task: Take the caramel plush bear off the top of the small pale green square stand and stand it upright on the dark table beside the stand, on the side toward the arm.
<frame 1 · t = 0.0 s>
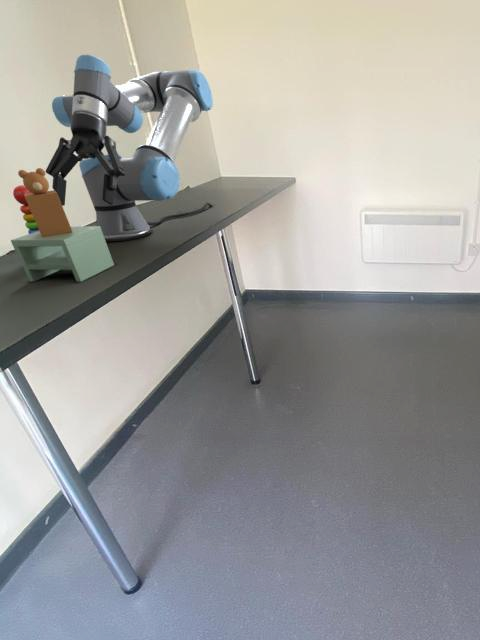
hand: (83, 202, 121), 15 cm above the table, tool tilted 35°, fingers open, 13 cm apart
pale green square stand: (73, 273, 123), on the table
plush bear: (56, 232, 117), point 10 cm above the table, touching pale green square stand
stacking toy: (53, 256, 138), on the table
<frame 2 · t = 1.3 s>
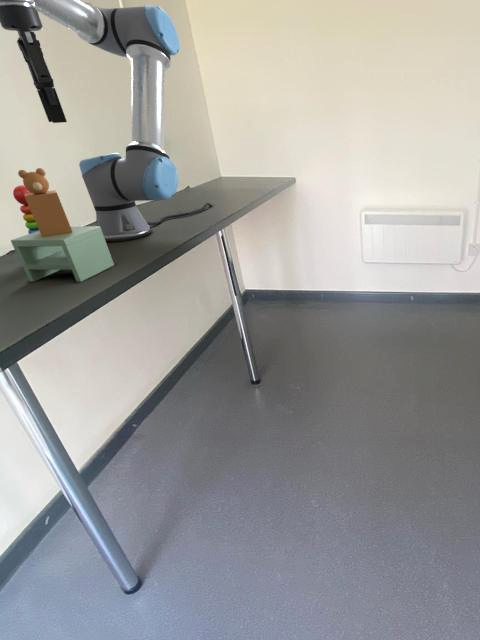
hand: (57, 122, 113), 33 cm above the table, tool pointing down, fingers open, 13 cm apart
nothing on the table moved.
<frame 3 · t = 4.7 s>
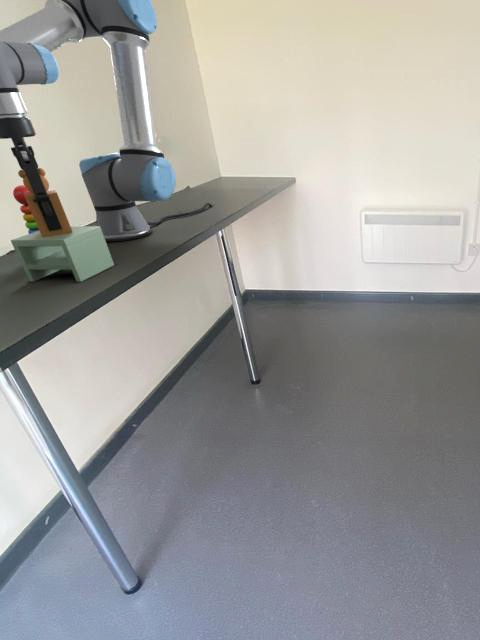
hand: (54, 227, 117), 11 cm above the table, tool pointing down, fingers closed on plush bear, 5 cm apart
plush bear: (56, 232, 117), point 10 cm above the table, touching gripper, pale green square stand
everything else where it was.
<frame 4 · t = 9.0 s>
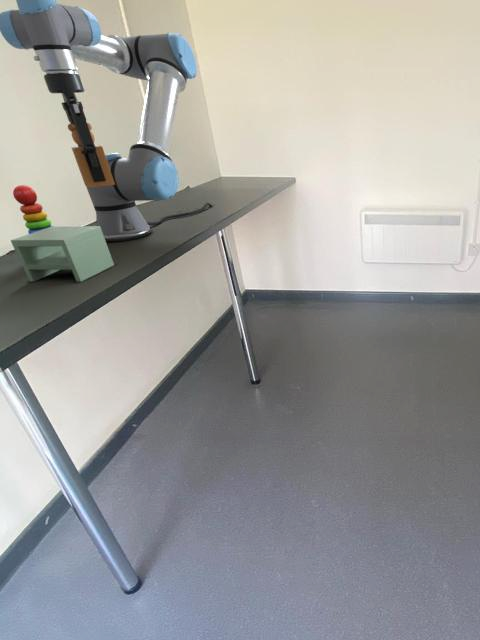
hand: (98, 180, 126), 19 cm above the table, tool pointing down, fingers closed on plush bear, 5 cm apart
plush bear: (100, 185, 127), point 18 cm above the table, touching gripper
everything else where it was.
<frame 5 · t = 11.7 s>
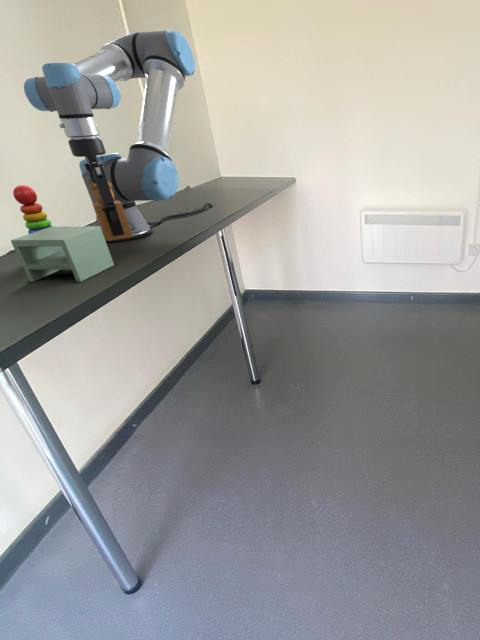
hand: (117, 232, 133), 6 cm above the table, tool pointing down, fingers closed on plush bear, 5 cm apart
plush bear: (118, 237, 134), point 5 cm above the table, touching gripper
everything else where it was.
when the fingers open (1 cm above the table, at t = 13.3 s): plush bear stays where it is, on the table.
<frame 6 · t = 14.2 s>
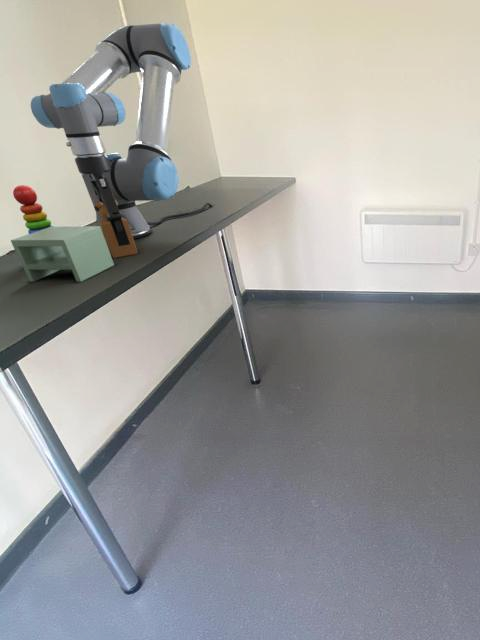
hand: (120, 240, 135), 4 cm above the table, tool pointing down, fingers open, 13 cm apart
plush bear: (124, 253, 136), on the table
everything else where it was.
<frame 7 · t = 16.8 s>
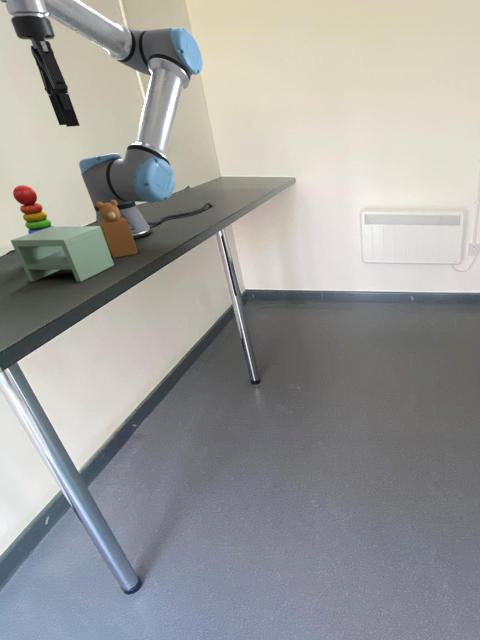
hand: (69, 125, 120), 32 cm above the table, tool pointing down, fingers open, 13 cm apart
nothing on the table moved.
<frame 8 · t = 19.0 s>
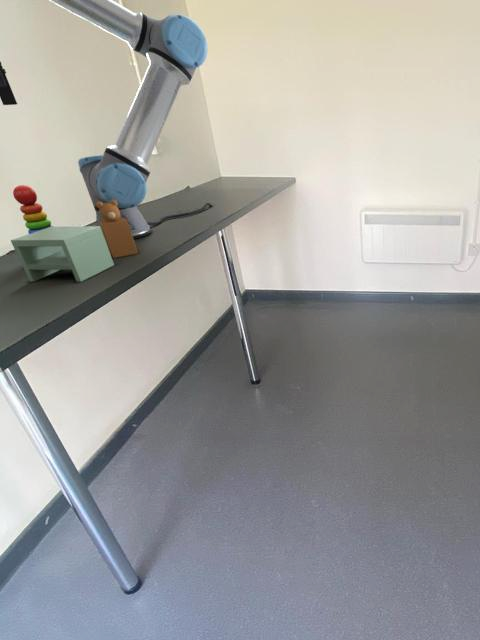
hand: (10, 104, 117), 37 cm above the table, tool pointing down, fingers open, 13 cm apart
nothing on the table moved.
at the end: plush bear inside the target area (0.1 cm from its centre), on the table; plush bear tilted 0°; plush bear touching table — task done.
